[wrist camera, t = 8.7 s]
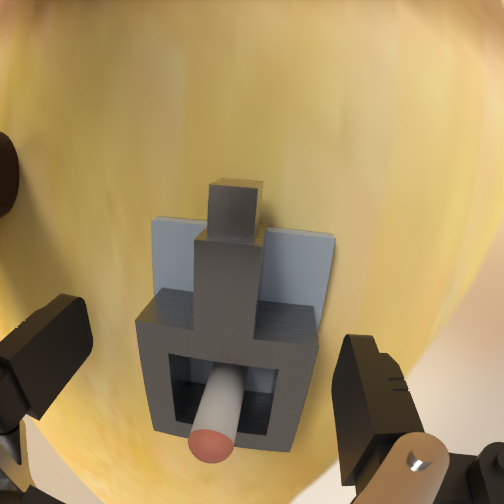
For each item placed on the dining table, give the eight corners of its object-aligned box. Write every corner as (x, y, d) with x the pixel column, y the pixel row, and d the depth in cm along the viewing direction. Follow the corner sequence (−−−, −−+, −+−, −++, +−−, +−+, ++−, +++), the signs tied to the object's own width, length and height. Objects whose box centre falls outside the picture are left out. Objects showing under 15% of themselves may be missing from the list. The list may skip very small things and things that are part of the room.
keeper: (157, 216, 16) (67, 273, 9) (333, 233, 15) (371, 313, 8) (172, 422, 21) (141, 501, 14) (288, 439, 20) (284, 526, 13)
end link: (161, 173, 14) (127, 182, 11) (331, 187, 14) (346, 200, 10) (170, 392, 19) (153, 430, 16) (290, 410, 18) (289, 452, 15)
